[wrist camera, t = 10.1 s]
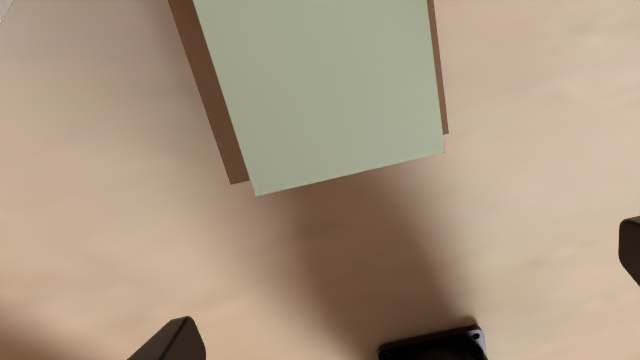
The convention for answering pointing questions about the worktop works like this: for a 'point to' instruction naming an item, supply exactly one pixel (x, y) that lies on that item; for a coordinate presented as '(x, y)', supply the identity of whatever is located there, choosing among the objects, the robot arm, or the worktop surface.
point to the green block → (324, 85)
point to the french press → (4, 7)
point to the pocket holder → (214, 97)
